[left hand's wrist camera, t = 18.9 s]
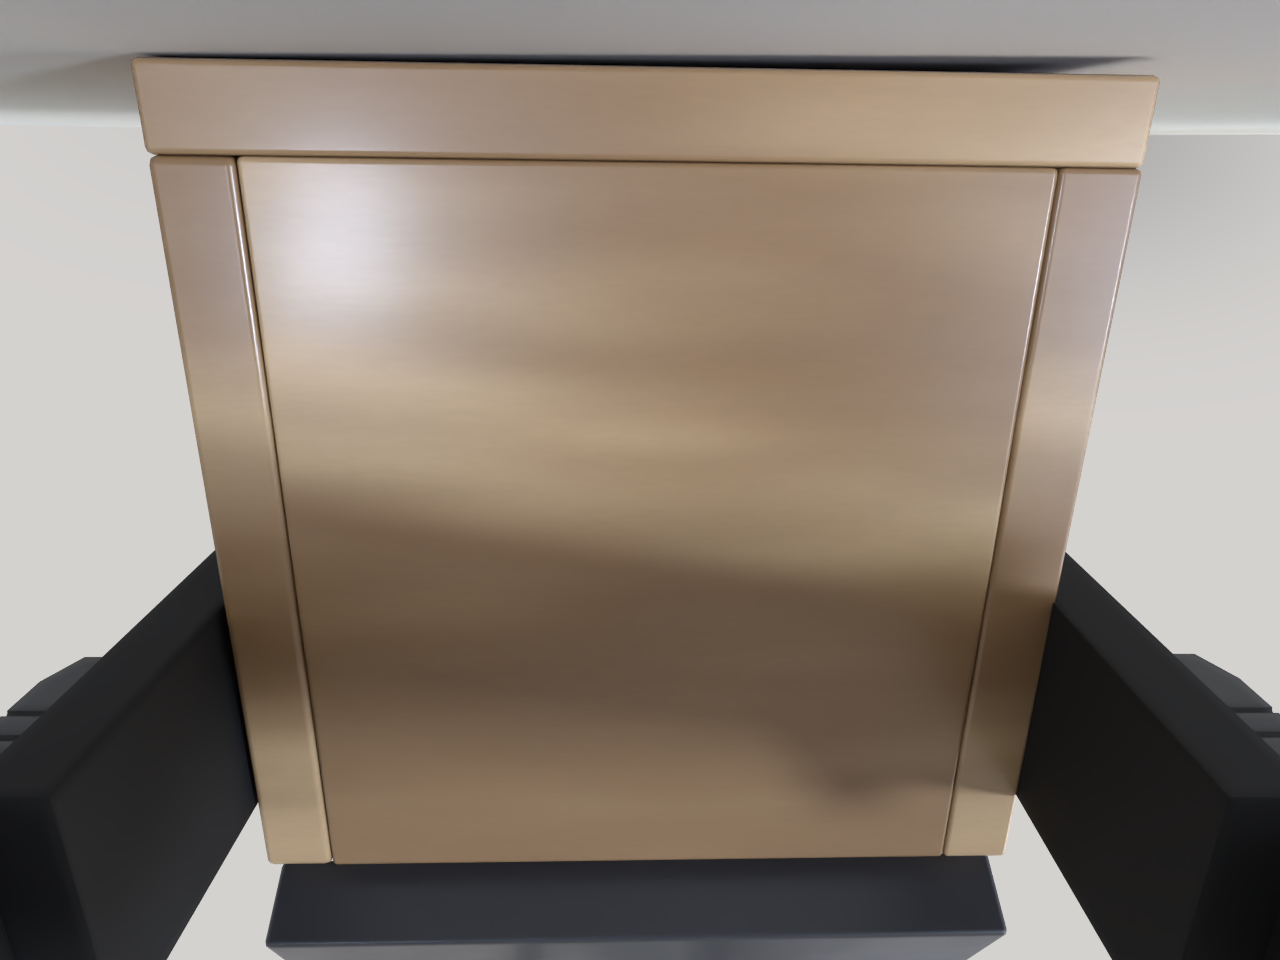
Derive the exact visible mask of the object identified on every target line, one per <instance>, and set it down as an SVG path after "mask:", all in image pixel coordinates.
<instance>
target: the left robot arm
mask: <svg viewBox="0 0 1280 960" xmlns="http://www.w3.org/2000/svg"><path fill="white" fill-rule="evenodd" d="M1016 795H1017V797H1018V799H1019V800H1020V802H1021V804H1022V805H1023V807H1024V809H1025V811H1026V812H1027V814H1028V816H1029V817H1030V819H1031V821H1032V823H1033V824H1034V826H1035V828H1036V829H1037V831H1038V833H1039V835H1040V836H1041V838H1042V840H1043V842H1044V843H1045V845H1046V847H1047V848H1048V850H1049V852H1050V854H1051V855H1052V857H1053V859H1054V860H1055V862H1056V864H1057V866H1058V867H1059V869H1060V871H1061V872H1062V874H1063V876H1064V878H1065V879H1066V881H1067V883H1068V884H1069V886H1070V888H1071V890H1072V891H1073V893H1074V895H1075V897H1076V898H1077V900H1078V902H1079V903H1080V905H1081V907H1082V909H1083V910H1084V912H1085V914H1086V915H1087V917H1088V919H1089V921H1090V922H1091V924H1092V926H1093V927H1094V929H1095V931H1096V933H1097V934H1098V936H1099V938H1100V940H1101V941H1102V943H1103V945H1104V946H1105V948H1106V950H1107V952H1108V953H1109V955H1110V957H1111V958H1112V960H1280V714H1279V713H1273V712H1272V707H1271V706H1270V705H1269V704H1268V703H1267V702H1265V701H1264V700H1263V699H1262V698H1261V697H1260V696H1259V695H1257V694H1256V693H1255V692H1254V691H1253V690H1252V689H1251V688H1249V687H1248V686H1247V685H1246V684H1245V683H1244V682H1243V681H1242V680H1241V679H1239V678H1238V677H1236V676H1234V675H1232V674H1230V673H1228V672H1227V671H1225V670H1223V669H1221V668H1219V667H1217V666H1216V665H1214V664H1212V663H1210V662H1208V661H1206V660H1205V659H1203V658H1201V657H1199V656H1197V655H1195V654H1172V653H1171V652H1170V651H1169V650H1168V649H1167V648H1166V647H1165V646H1164V645H1163V644H1162V643H1161V642H1160V641H1159V640H1158V639H1157V638H1156V637H1154V636H1153V635H1152V634H1151V633H1150V632H1149V631H1148V630H1147V629H1146V628H1145V627H1144V626H1143V625H1142V624H1141V623H1140V622H1139V621H1138V620H1137V619H1136V618H1134V617H1133V616H1132V615H1131V614H1130V613H1129V612H1128V611H1127V610H1126V609H1125V608H1124V607H1123V606H1122V605H1121V604H1120V603H1119V602H1118V601H1117V600H1115V599H1114V598H1113V597H1112V596H1111V595H1110V594H1109V593H1108V592H1107V591H1106V590H1105V589H1104V588H1103V587H1102V586H1101V585H1100V584H1099V583H1098V582H1097V581H1096V580H1094V579H1093V578H1092V577H1091V576H1090V575H1089V574H1088V573H1087V572H1086V571H1085V570H1084V569H1083V568H1082V567H1081V566H1080V565H1079V564H1078V563H1076V562H1075V561H1074V560H1073V559H1072V558H1071V557H1070V556H1069V555H1068V554H1067V553H1066V552H1065V556H1064V561H1063V566H1062V571H1061V575H1060V580H1059V585H1058V590H1057V595H1056V600H1055V603H1053V605H1052V611H1051V616H1050V621H1049V626H1048V632H1047V637H1046V642H1045V648H1044V653H1043V658H1042V664H1041V669H1040V674H1039V679H1038V685H1037V690H1036V695H1035V701H1034V706H1033V711H1032V717H1031V722H1030V727H1029V732H1028V738H1027V743H1026V748H1025V754H1024V759H1023V764H1022V769H1021V774H1020V779H1019V784H1018V789H1017V794H1016ZM257 803H258V797H257V791H256V785H255V779H254V774H253V768H252V762H251V756H250V750H249V744H248V738H247V733H246V727H245V721H244V715H243V709H242V703H241V697H240V692H239V686H238V680H237V674H236V668H235V662H234V656H233V651H232V645H231V639H230V633H229V627H228V621H227V615H226V610H225V604H224V598H223V592H222V586H221V580H220V575H219V569H218V563H217V557H216V551H214V552H213V553H212V554H210V555H209V556H208V557H207V558H206V559H205V560H204V561H203V562H202V563H201V564H200V565H199V566H198V567H197V568H196V569H195V570H194V571H193V572H192V573H190V574H189V575H188V576H187V577H186V578H185V579H184V580H183V581H182V582H181V583H180V584H179V585H178V586H177V587H176V588H175V589H174V590H173V591H172V592H170V593H169V594H168V595H167V596H166V597H165V598H164V599H163V600H162V601H161V602H160V603H159V604H158V605H157V606H156V607H155V608H154V609H153V610H151V611H150V612H149V613H148V614H147V615H146V616H145V617H144V618H143V619H142V620H141V621H140V622H139V623H138V624H137V625H136V626H135V627H134V628H133V629H131V630H130V631H129V632H128V633H127V634H126V635H125V636H124V637H123V638H122V639H121V640H120V641H119V642H118V643H117V644H116V645H115V646H114V647H113V648H111V649H110V650H109V651H108V652H107V653H106V654H105V655H104V656H103V657H84V658H82V659H81V660H79V661H77V662H75V663H73V664H71V665H70V666H68V667H66V668H64V669H62V670H60V671H59V672H57V673H55V674H53V675H51V676H49V677H48V678H46V679H44V680H42V681H40V682H39V683H38V684H37V685H36V686H35V687H33V688H32V689H31V690H30V691H29V692H28V693H27V694H26V695H24V696H23V697H22V698H21V699H20V700H19V701H18V702H17V703H15V704H14V705H13V706H12V707H11V708H10V709H9V710H8V711H7V716H6V717H0V960H167V958H168V956H169V955H170V953H171V951H172V949H173V948H174V946H175V944H176V943H177V941H178V939H179V937H180V936H181V934H182V932H183V930H184V929H185V927H186V925H187V924H188V922H189V920H190V918H191V917H192V915H193V913H194V912H195V910H196V908H197V906H198V905H199V903H200V901H201V900H202V898H203V896H204V894H205V893H206V891H207V889H208V887H209V886H210V884H211V882H212V881H213V879H214V877H215V875H216V874H217V872H218V870H219V869H220V867H221V865H222V863H223V862H224V860H225V858H226V856H227V855H228V853H229V851H230V849H231V848H232V846H233V844H234V843H235V841H236V839H237V838H238V836H239V834H240V832H241V831H242V829H243V827H244V826H245V824H246V822H247V820H248V819H249V817H250V815H251V814H252V812H253V810H254V808H255V807H256V805H257Z"/></svg>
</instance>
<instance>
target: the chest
mask: <svg viewBox="0 0 1280 960" xmlns="http://www.w3.org/2000/svg"><path fill="white" fill-rule="evenodd" d="M131 67H132V73H133V79H134V84H135V90H136V96H137V102H138V108H139V114H140V119H141V125H142V131H143V137H144V143H145V147H146V149H147V151H148V152H150V153H152V154H157V155H156V156H154V157H152V158H151V160H150V170H151V176H152V182H153V188H154V194H155V200H156V205H157V211H158V217H159V223H160V229H161V235H162V241H163V247H164V252H165V258H166V264H167V270H168V276H169V282H170V288H171V293H172V299H173V305H174V311H175V317H176V323H177V329H178V334H179V340H180V346H181V352H182V358H183V364H184V369H185V375H186V381H187V387H188V393H189V399H190V405H191V410H192V416H193V422H194V428H195V434H196V440H197V446H198V451H199V457H200V463H201V469H202V475H203V481H204V487H205V492H206V498H207V504H208V510H209V516H210V522H211V528H212V534H213V539H214V545H215V551H216V557H217V563H218V569H219V575H220V580H221V586H222V592H223V598H224V604H225V610H226V615H227V621H228V627H229V633H230V639H231V645H232V651H233V656H234V662H235V668H236V674H237V680H238V686H239V692H240V697H241V703H242V709H243V715H244V721H245V727H246V733H247V738H248V744H249V750H250V756H251V762H252V768H253V774H254V779H255V785H256V791H257V797H258V803H259V809H260V815H261V820H262V826H263V832H264V838H265V844H266V850H267V856H268V860H269V862H270V863H273V864H315V863H328V862H330V861H331V860H332V858H333V861H334V863H335V864H400V863H473V862H547V861H620V860H694V859H767V858H840V857H914V856H940V855H941V854H942V852H943V854H944V855H946V856H986V855H1003V854H1004V853H1005V848H1006V844H1007V839H1008V834H1009V829H1010V823H1011V819H1012V814H1013V809H1014V804H1015V799H1016V794H1017V789H1018V784H1019V779H1020V774H1021V769H1022V764H1023V759H1024V754H1025V748H1026V743H1027V738H1028V732H1029V727H1030V722H1031V717H1032V711H1033V706H1034V701H1035V695H1036V690H1037V685H1038V679H1039V674H1040V669H1041V664H1042V658H1043V653H1044V648H1045V642H1046V637H1047V632H1048V626H1049V621H1050V616H1051V611H1052V605H1053V603H1055V600H1056V595H1057V590H1058V585H1059V580H1060V575H1061V571H1062V566H1063V561H1064V556H1065V550H1066V546H1067V540H1068V536H1069V531H1070V526H1071V521H1072V516H1073V511H1074V506H1075V501H1076V496H1077V491H1078V486H1079V481H1080V476H1081V471H1082V466H1083V461H1084V456H1085V451H1086V446H1087V441H1088V436H1089V431H1090V427H1091V422H1092V417H1093V412H1094V407H1095V402H1096V397H1097V392H1098V387H1099V382H1100V377H1101V372H1102V367H1103V362H1104V357H1105V352H1106V347H1107V342H1108V337H1109V332H1110V327H1111V322H1112V317H1113V312H1114V307H1115V302H1116V297H1117V292H1118V287H1119V283H1120V278H1121V273H1122V268H1123V263H1124V258H1125V253H1126V248H1127V243H1128V238H1129V233H1130V228H1131V223H1132V218H1133V213H1134V208H1135V203H1136V198H1137V193H1138V188H1139V183H1140V178H1141V171H1139V170H1137V169H1136V168H1137V167H1139V166H1141V165H1142V163H1143V162H1144V157H1145V152H1146V147H1147V142H1148V137H1149V132H1150V127H1151V122H1152V118H1153V113H1154V108H1155V103H1156V98H1157V93H1158V88H1159V78H1157V77H1155V76H1153V75H1108V74H1053V73H998V72H942V71H887V70H832V69H776V68H721V67H666V66H610V65H555V64H500V63H444V62H389V61H333V60H278V59H223V58H167V57H137V58H135V59H132V62H131Z"/></svg>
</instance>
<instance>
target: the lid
mask: <svg viewBox="0 0 1280 960" xmlns="http://www.w3.org/2000/svg"><path fill="white" fill-rule="evenodd" d="M1005 934H1006V926H1005V922H1004V918H1003V914H1002V910H1001V906H1000V902H999V899H998V895H997V891H996V887H995V883H994V879H993V875H992V872H991V868H990V864H989V860H988V856H987V855H986V856H946V855H944V854H943V853H942V854H941V855H940V856H914V857H840V858H767V859H694V860H620V861H547V862H473V863H400V864H335V863H334V861H330V862H328V863H315V864H284V865H283V867H282V871H281V875H280V879H279V884H278V888H277V893H276V897H275V902H274V906H273V911H272V915H271V920H270V924H269V929H268V933H267V937H266V946H267V947H268V948H269V949H271V950H272V951H273V952H275V953H276V954H278V955H279V956H280V957H282V958H283V959H284V960H967V959H968V958H970V957H971V956H973V955H975V954H976V953H978V952H979V951H981V950H982V949H984V948H985V947H987V946H988V945H990V944H991V943H993V942H994V941H996V940H997V939H999V938H1000V937H1002V936H1003V935H1005Z"/></svg>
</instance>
